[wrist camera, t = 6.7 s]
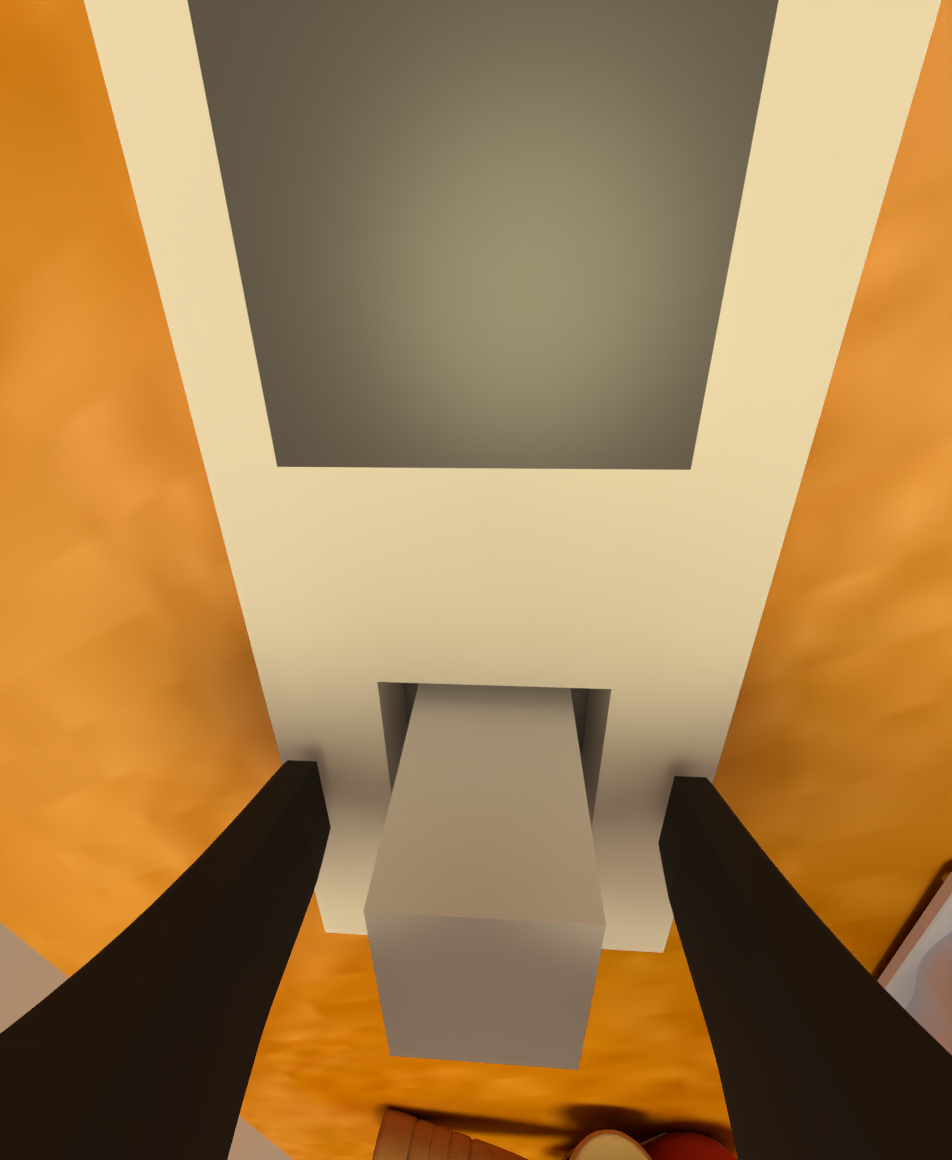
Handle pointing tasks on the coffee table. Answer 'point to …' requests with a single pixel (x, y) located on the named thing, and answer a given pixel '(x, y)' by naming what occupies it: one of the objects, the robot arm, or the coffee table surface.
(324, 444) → the power strip
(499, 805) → the beige plug
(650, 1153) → the kendama
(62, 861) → the coffee table surface
